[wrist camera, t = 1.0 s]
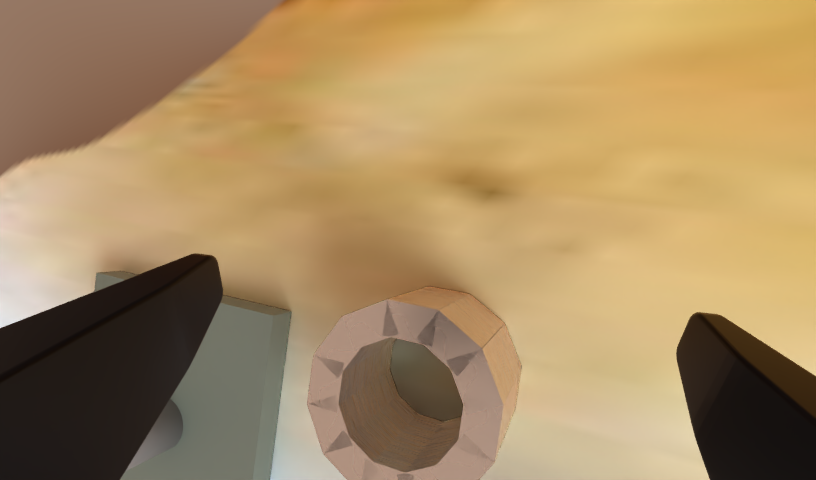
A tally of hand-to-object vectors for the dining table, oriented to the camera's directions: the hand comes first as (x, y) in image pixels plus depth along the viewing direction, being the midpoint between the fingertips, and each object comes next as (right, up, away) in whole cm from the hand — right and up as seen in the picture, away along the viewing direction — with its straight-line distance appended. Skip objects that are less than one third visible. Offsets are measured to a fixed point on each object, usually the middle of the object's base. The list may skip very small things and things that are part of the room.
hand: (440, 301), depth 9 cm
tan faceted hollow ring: (+1, -5, +12) cm, 13 cm away
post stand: (-13, -8, +17) cm, 23 cm away
